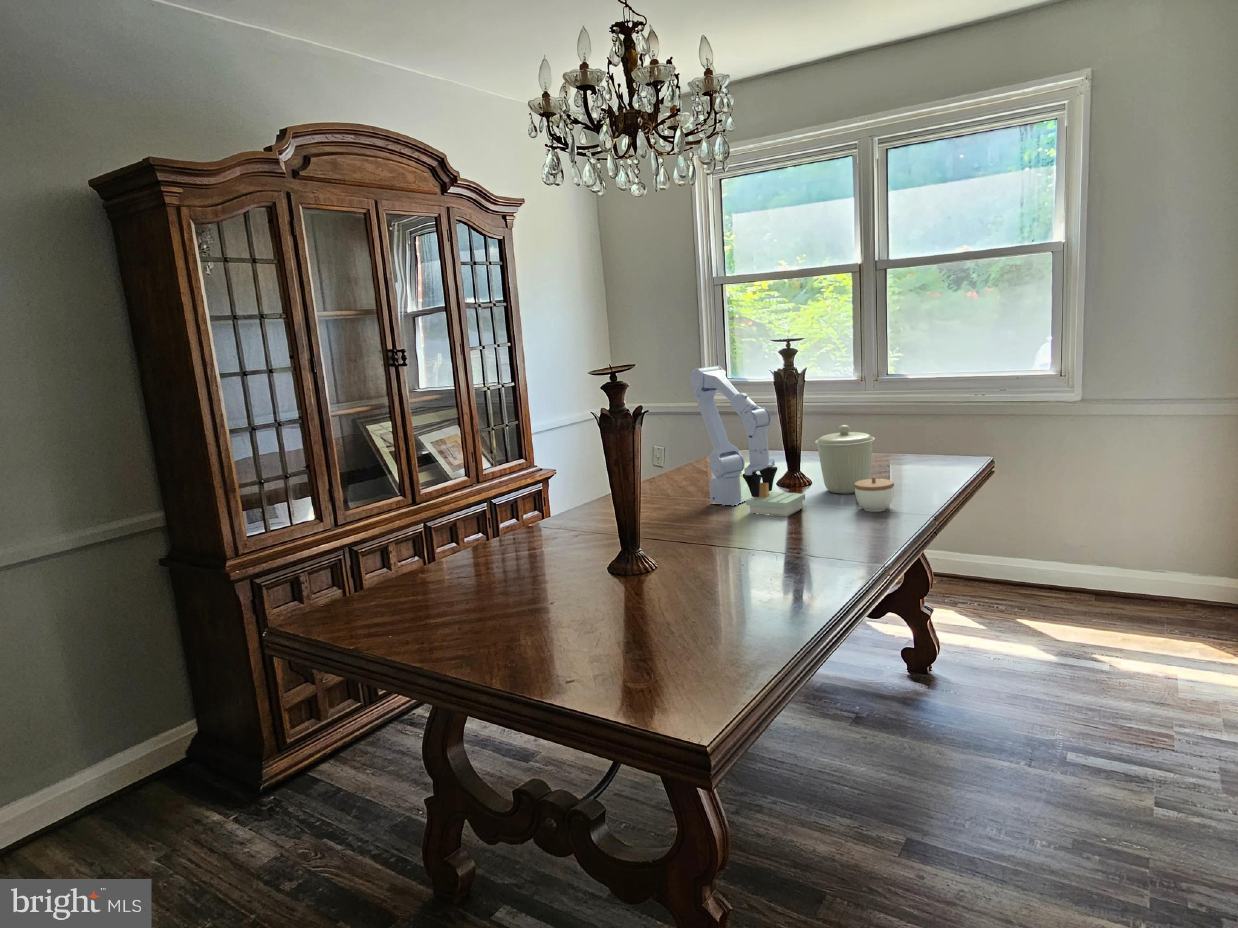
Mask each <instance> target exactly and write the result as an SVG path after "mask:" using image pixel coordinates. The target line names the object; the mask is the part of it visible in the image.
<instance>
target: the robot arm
mask: <svg viewBox="0 0 1238 928" xmlns="http://www.w3.org/2000/svg"><path fill="white" fill-rule="evenodd" d="M689 384H690V387H691V389H692V392H693V395H694V397H695V399H696V402H697V405H698V408H699V411H700V414H701V418H702V420H703V422H704V425H705V427H706V430H707V431H706V432H707V433H708V437H709V439H710V443H711V446H712V451H711V452H710V454H709V456H708V460H709V464H710V465H709V466H710V467H709V468H710V471H711V473H712V476H711V478H710V481H709V494H710V503H711V502H715V503H722V505H721V506H725V505H733V506H732V507H735V506H734V505H736V506H738V504H739V503H741V504H743V503H745V502H746V501H745V500H747V499H748V498H742V497H743V496H742V484H741V475H742V478H743V479H744V481H745V482H746V484H747V487H748V488H749V492H750V495H751V498H752V497H759V493H760V483H761V480H762V483H768V485H769V492H773V486H774V485H773V484H774V480H775V476H776V474H777V472H778V467H777V466H775V465H776V463H775V461H776V460H775V458H773V459H771V458H770V455H769V454H770V453H769V451H770V450H769V441H768V428H767V427H768V426H769V425H770V423H771V413H770V412H769V410H768V409H767V408H766V407H763V406H762V407H761V406H760V405H759V406H758V405H757V404H756V403H755V401H753V400H752V399H751V398H750V397H749V395H748V394H747V393H745V392H739V391H738V390H737V389H736V387H734V385H733V384H732V383H731V381H730V380H729V379H728V378H727V372H726V370H724V369H723V368H722V366H721V365H714V366H713V365H712V366H707V367H699V368H696V367H695V368H693V369H692V371H691V372H690V376H689ZM718 392H720V394H721V395H723V396H724V397H726V398H727V400H729V401H730V408H731V409H733V411H734V412H735V413H736V414H738V416H739V417H741V419H742V420H741V421H742V425H743V427H744V429H745V434H746V436H747V443H748V455H749V464H748V466H747V467H745V466H746V463H745V458H744V457H743V455H742V454H741V453H740V450H739V448H738V447H737V446H735V445H733V444H731V442H730V441H729V438H728V434H727V431H726V429H725V425H724V424H723V420H722V418H721V415H720V412H719V409H718V407H717V404H716V401H715V395H717V393H718ZM743 470H744V471H743ZM757 472H759V473H760V474H758V473H757ZM742 473H743V474H742ZM744 499H745V500H744ZM744 501H745V502H744ZM742 502H743V503H742ZM739 505H740V504H739Z"/></svg>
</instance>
